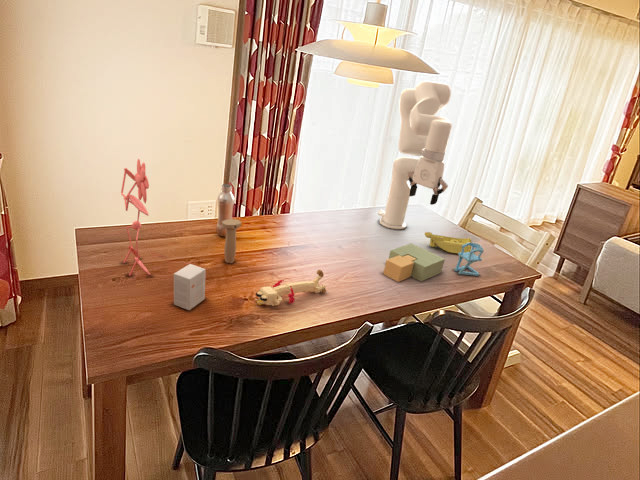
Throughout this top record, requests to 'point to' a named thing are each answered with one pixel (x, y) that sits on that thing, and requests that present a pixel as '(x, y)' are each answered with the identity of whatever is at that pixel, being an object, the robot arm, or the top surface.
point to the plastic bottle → (224, 207)
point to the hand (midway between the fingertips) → (422, 199)
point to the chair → (469, 259)
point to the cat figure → (288, 290)
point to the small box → (189, 286)
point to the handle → (230, 239)
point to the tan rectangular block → (399, 267)
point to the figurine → (137, 206)
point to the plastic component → (449, 243)
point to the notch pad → (420, 261)
